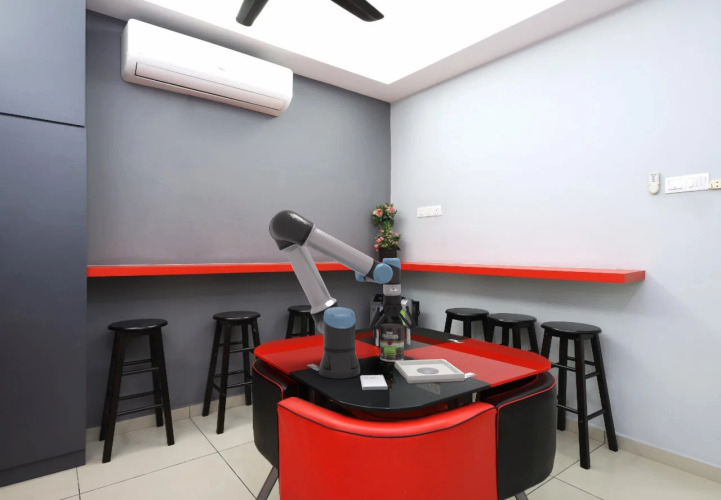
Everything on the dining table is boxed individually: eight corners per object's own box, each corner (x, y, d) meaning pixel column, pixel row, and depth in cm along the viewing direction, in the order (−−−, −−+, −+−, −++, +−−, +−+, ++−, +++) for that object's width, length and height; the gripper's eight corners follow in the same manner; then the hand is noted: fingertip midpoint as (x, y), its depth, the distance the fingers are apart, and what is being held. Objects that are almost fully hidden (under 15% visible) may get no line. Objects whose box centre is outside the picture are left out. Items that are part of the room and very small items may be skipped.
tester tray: (408, 383, 134) (408, 376, 134) (394, 367, 153) (394, 360, 153) (464, 380, 137) (464, 373, 137) (443, 365, 156) (443, 359, 156)
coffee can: (401, 362, 160) (401, 328, 160) (377, 360, 163) (377, 326, 163) (406, 356, 170) (406, 324, 170) (383, 355, 173) (383, 322, 173)
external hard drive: (362, 391, 127) (360, 379, 140) (387, 391, 128) (383, 379, 140) (362, 386, 127) (360, 375, 140) (387, 386, 128) (383, 374, 140)
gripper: (364, 296, 161) (365, 348, 161) (423, 294, 165) (424, 345, 165) (361, 294, 169) (362, 344, 169) (418, 292, 173) (418, 341, 172)
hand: (393, 344), depth 167 cm, fingers open, 13 cm apart
